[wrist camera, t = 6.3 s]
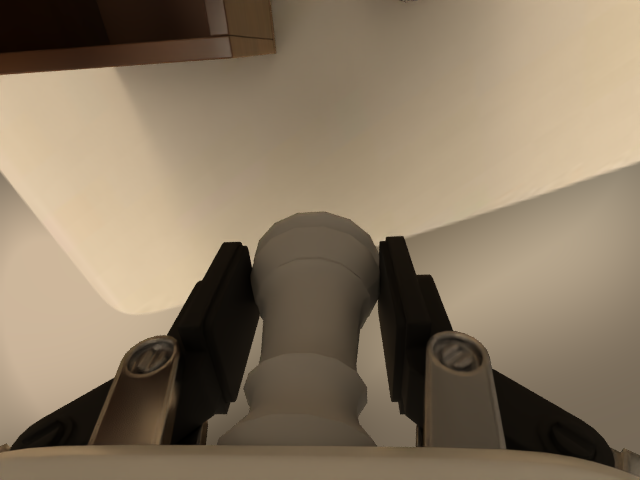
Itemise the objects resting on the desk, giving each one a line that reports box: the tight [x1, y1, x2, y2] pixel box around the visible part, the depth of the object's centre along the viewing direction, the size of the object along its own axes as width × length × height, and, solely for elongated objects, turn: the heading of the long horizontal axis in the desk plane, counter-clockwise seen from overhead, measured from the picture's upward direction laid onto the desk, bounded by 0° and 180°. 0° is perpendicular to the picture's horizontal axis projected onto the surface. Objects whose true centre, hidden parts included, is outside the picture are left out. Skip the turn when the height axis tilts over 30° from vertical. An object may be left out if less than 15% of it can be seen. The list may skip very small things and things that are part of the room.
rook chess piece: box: [217, 212, 380, 447], centre depth 9 cm, size 4×4×8 cm
